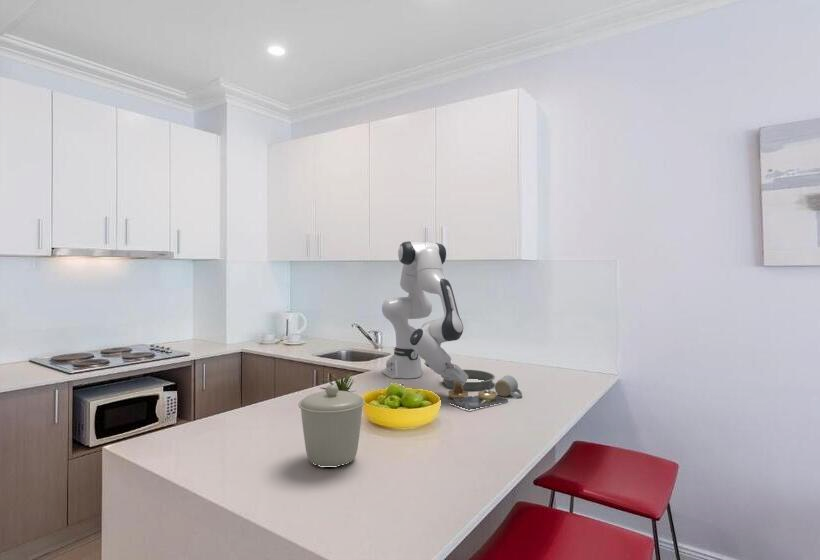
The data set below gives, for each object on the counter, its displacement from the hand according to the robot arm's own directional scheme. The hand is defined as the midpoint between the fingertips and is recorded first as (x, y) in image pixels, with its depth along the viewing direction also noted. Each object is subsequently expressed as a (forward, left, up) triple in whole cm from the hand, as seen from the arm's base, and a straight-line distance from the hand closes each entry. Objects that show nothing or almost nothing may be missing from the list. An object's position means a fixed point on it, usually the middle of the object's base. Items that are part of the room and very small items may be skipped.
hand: (459, 382), depth 191 cm
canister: (+27, -71, -6) cm, 76 cm away
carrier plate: (+11, 0, -6) cm, 13 cm away
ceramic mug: (+10, +19, -6) cm, 22 cm away
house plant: (-5, -52, -6) cm, 52 cm away
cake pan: (-14, +17, -7) cm, 23 cm away
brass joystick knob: (0, -1, -6) cm, 6 cm away
